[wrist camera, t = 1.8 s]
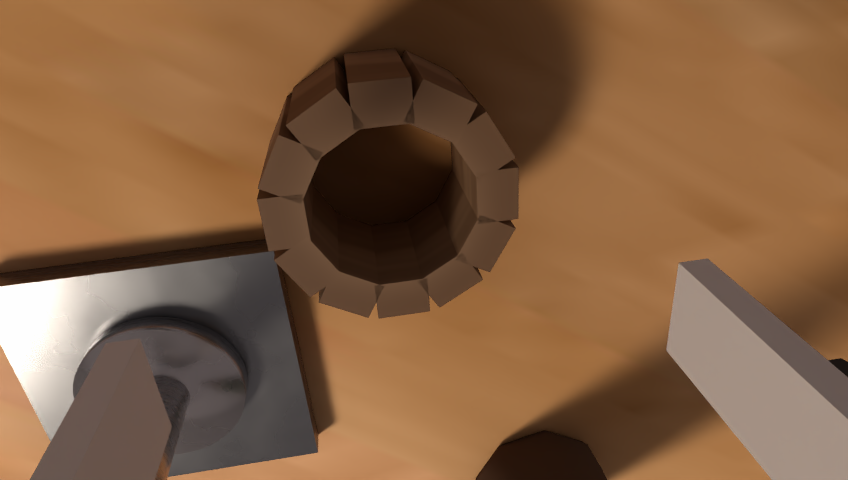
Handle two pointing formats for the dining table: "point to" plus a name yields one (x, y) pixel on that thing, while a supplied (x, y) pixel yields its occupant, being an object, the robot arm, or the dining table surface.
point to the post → (172, 347)
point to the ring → (394, 242)
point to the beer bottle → (542, 460)
